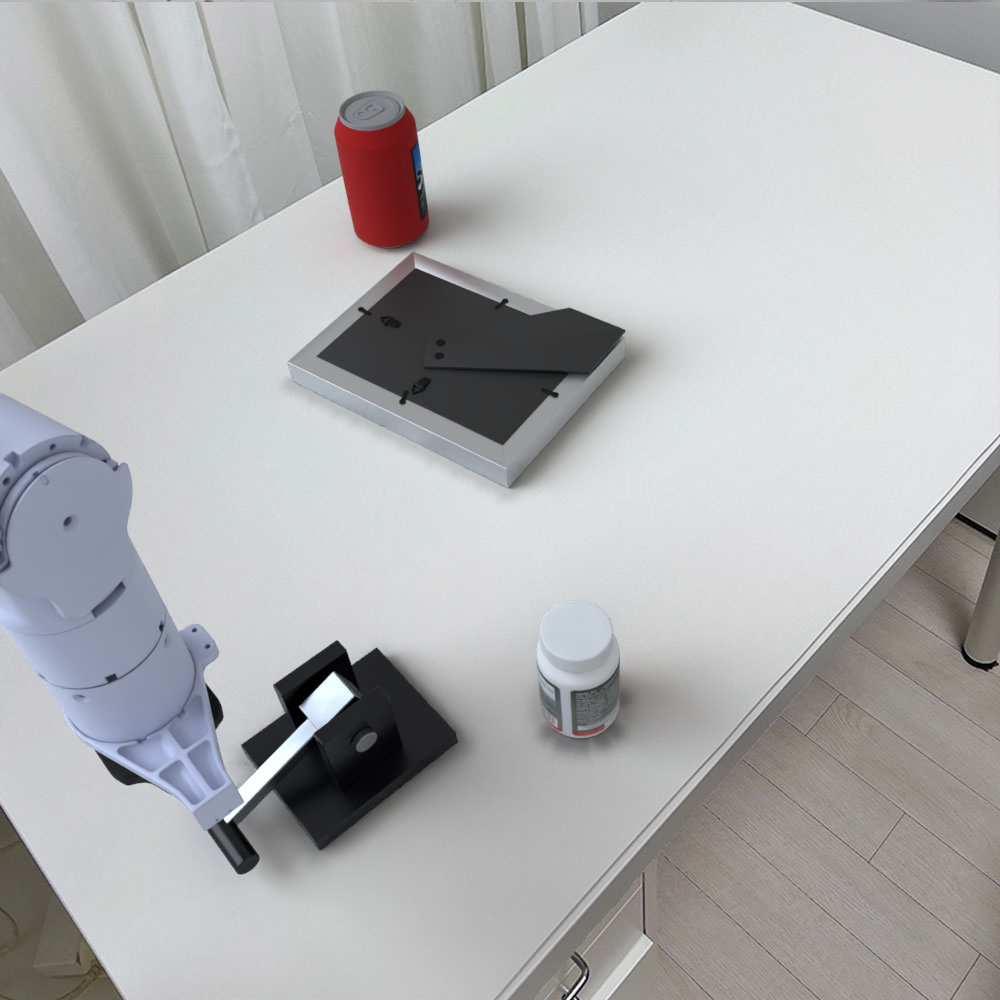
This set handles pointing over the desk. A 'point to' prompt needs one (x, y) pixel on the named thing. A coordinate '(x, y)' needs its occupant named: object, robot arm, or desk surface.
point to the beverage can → (382, 169)
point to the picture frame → (460, 365)
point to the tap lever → (281, 767)
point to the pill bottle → (578, 669)
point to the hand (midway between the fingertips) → (189, 777)
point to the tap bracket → (351, 742)
